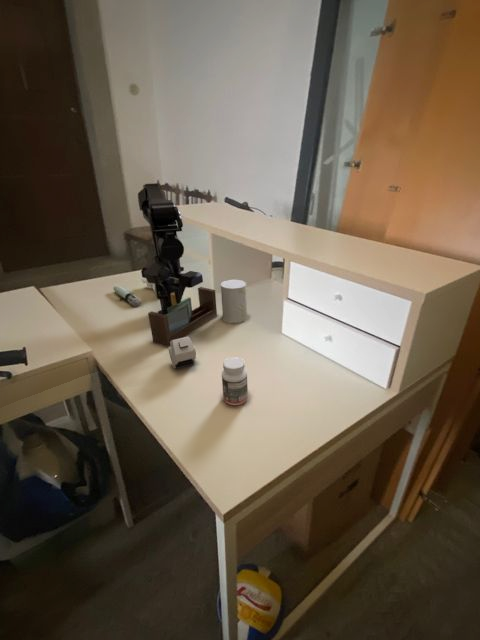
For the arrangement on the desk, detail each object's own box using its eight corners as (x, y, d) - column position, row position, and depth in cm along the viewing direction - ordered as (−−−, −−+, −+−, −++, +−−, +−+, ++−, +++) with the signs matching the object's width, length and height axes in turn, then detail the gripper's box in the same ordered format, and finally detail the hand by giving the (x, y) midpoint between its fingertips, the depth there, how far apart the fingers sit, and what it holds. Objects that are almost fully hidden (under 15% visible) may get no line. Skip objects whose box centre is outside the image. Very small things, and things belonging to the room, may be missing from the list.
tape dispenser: (173, 372, 94) (176, 359, 86) (166, 349, 96) (168, 335, 87) (194, 366, 97) (199, 353, 88) (187, 344, 98) (191, 330, 90)
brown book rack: (153, 342, 105) (147, 313, 100) (203, 312, 123) (200, 286, 118) (168, 347, 102) (163, 317, 97) (217, 316, 120) (215, 289, 115)
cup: (243, 324, 115) (242, 289, 109) (219, 321, 116) (217, 287, 110) (249, 313, 122) (248, 280, 116) (226, 311, 123) (225, 278, 117)
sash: (168, 328, 108) (163, 296, 103) (189, 316, 116) (185, 286, 110) (173, 330, 107) (169, 298, 102) (194, 318, 115) (191, 287, 109)
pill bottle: (223, 391, 84) (221, 356, 79) (247, 390, 85) (246, 354, 79) (223, 406, 79) (220, 370, 74) (248, 405, 80) (247, 369, 75)
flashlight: (107, 289, 137) (128, 305, 124) (116, 282, 138) (137, 296, 125) (113, 295, 139) (133, 311, 126) (121, 288, 140) (143, 302, 127)
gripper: (121, 253, 96) (132, 305, 104) (174, 263, 88) (181, 319, 96) (151, 244, 104) (159, 293, 113) (201, 252, 97) (206, 304, 105)
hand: (175, 302), depth 106 cm, fingers closed on sash, 2 cm apart
